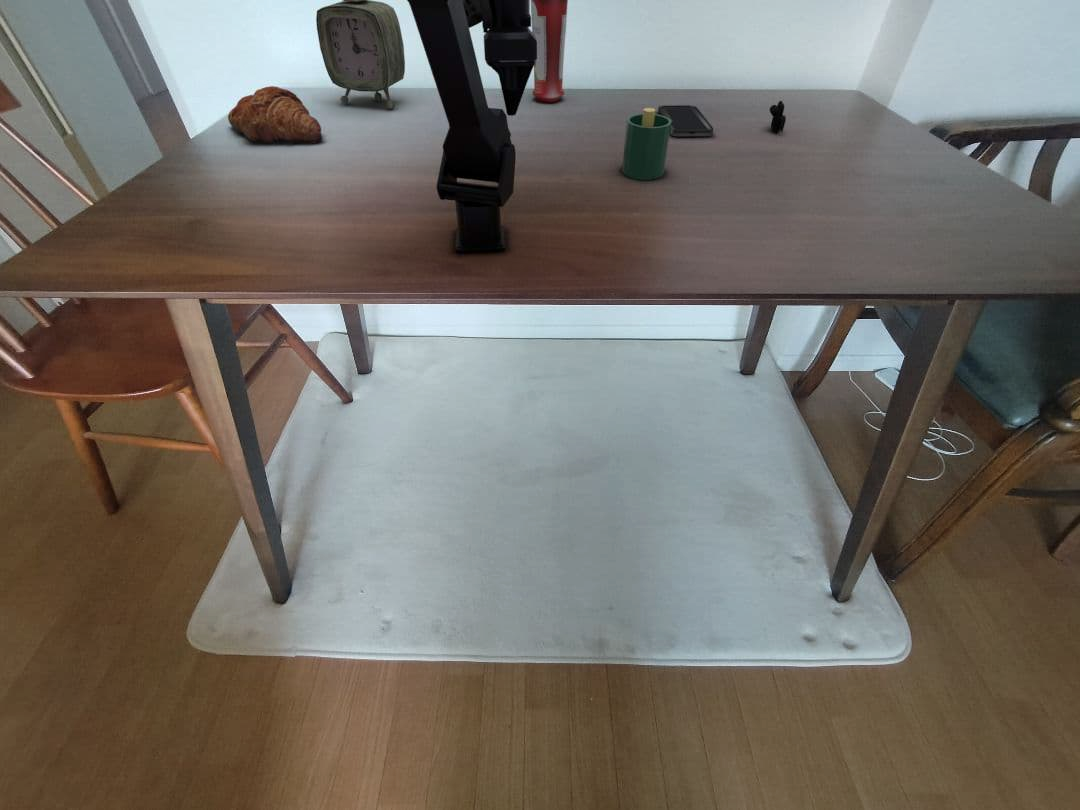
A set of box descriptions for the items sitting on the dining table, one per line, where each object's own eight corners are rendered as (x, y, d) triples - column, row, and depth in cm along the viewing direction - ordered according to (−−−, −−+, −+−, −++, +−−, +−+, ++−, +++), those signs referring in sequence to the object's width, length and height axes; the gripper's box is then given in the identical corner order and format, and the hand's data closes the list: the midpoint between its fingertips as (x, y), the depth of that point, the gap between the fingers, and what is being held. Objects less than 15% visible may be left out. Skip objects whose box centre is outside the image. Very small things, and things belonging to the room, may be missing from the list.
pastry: (224, 153, 101) (206, 103, 96) (232, 125, 112) (216, 79, 106) (323, 143, 105) (311, 95, 99) (322, 117, 115) (311, 72, 110)
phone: (695, 105, 118) (714, 130, 107) (694, 111, 118) (713, 136, 108) (657, 105, 117) (672, 130, 106) (656, 111, 118) (671, 136, 107)
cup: (667, 179, 93) (676, 127, 88) (626, 180, 93) (632, 128, 87) (658, 163, 98) (665, 113, 93) (618, 164, 98) (623, 114, 92)
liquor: (527, 96, 126) (525, -69, 107) (558, 93, 128) (562, -70, 109) (537, 105, 121) (536, -66, 102) (569, 102, 123) (575, -67, 104)
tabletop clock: (333, 106, 121) (299, -45, 103) (355, 94, 127) (327, -50, 110) (395, 113, 118) (371, -42, 100) (415, 100, 124) (395, -47, 107)
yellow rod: (648, 170, 94) (656, 111, 88) (637, 170, 94) (645, 111, 88) (646, 166, 96) (653, 107, 90) (635, 166, 96) (642, 107, 89)
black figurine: (782, 137, 108) (790, 108, 104) (769, 136, 108) (776, 107, 104) (775, 125, 113) (782, 96, 109) (762, 124, 113) (769, 96, 109)
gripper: (440, -46, 75) (453, 86, 86) (433, -26, 61) (448, 128, 72) (526, -47, 76) (527, 85, 86) (537, -27, 62) (537, 126, 73)
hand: (509, 104), depth 79 cm, fingers open, 9 cm apart
